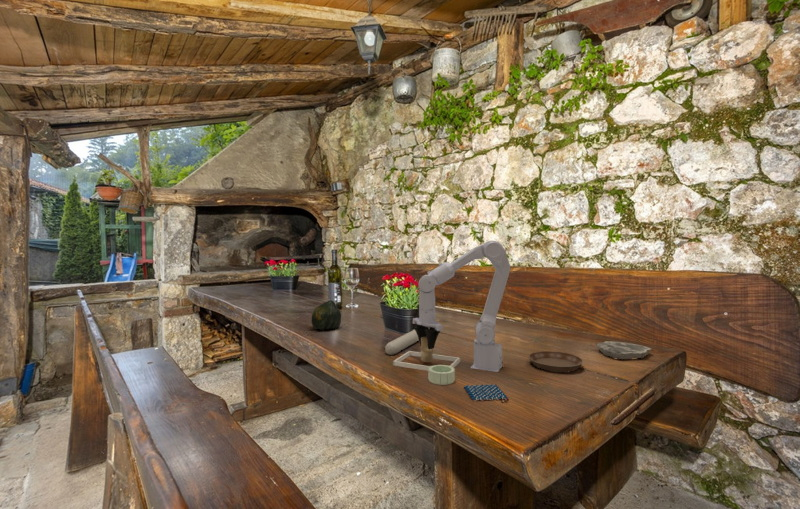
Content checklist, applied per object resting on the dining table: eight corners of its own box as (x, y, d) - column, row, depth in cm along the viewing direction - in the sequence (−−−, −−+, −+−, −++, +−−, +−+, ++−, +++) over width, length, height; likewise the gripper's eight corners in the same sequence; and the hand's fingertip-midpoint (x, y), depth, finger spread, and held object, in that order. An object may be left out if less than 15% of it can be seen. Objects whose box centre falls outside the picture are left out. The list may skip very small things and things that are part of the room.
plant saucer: (527, 371, 132) (527, 362, 132) (530, 356, 148) (530, 348, 148) (584, 378, 125) (584, 368, 125) (580, 361, 142) (581, 353, 142)
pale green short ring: (457, 379, 123) (457, 367, 123) (449, 388, 116) (449, 374, 116) (433, 375, 127) (433, 363, 126) (424, 383, 119) (424, 371, 119)
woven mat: (510, 404, 106) (510, 397, 106) (472, 406, 105) (472, 398, 105) (497, 389, 116) (497, 383, 116) (462, 391, 115) (462, 384, 115)
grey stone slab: (616, 346, 163) (616, 339, 163) (658, 357, 148) (658, 349, 147) (584, 352, 154) (584, 344, 154) (625, 364, 139) (625, 356, 139)
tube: (396, 347, 147) (423, 332, 169) (384, 341, 149) (412, 327, 171) (392, 359, 148) (419, 343, 170) (380, 353, 150) (409, 338, 172)
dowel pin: (434, 359, 138) (433, 337, 138) (430, 362, 134) (430, 339, 134) (423, 358, 140) (423, 336, 140) (419, 361, 136) (419, 338, 136)
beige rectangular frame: (460, 363, 139) (460, 357, 139) (447, 375, 127) (447, 369, 127) (409, 356, 148) (409, 350, 148) (392, 366, 135) (392, 361, 135)
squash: (301, 318, 193) (316, 297, 187) (323, 314, 205) (337, 294, 199) (316, 340, 187) (331, 319, 181) (337, 335, 199) (352, 315, 193)
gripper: (405, 307, 140) (405, 344, 141) (431, 313, 128) (431, 354, 129) (421, 305, 144) (421, 341, 145) (447, 311, 132) (447, 350, 133)
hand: (427, 347), depth 137 cm, fingers closed on dowel pin, 4 cm apart
